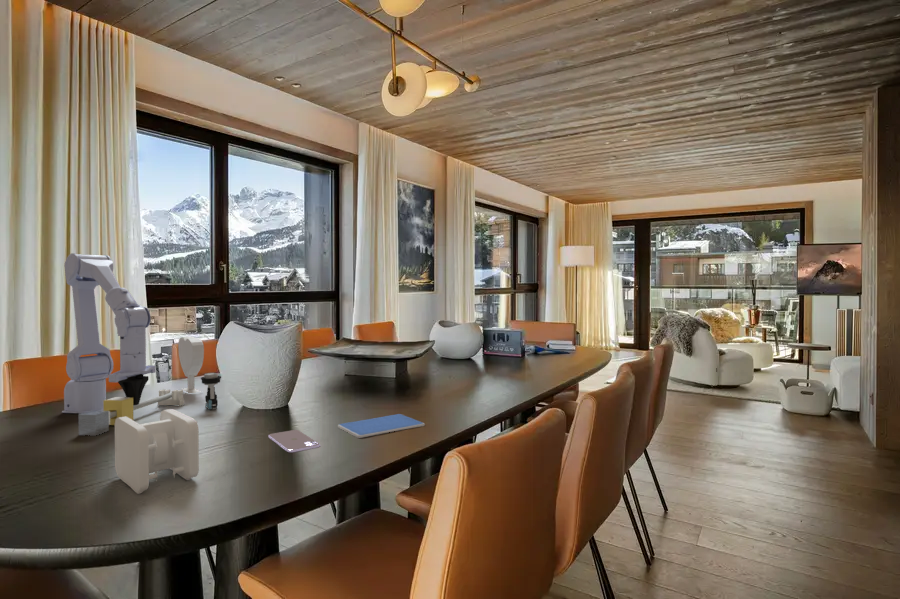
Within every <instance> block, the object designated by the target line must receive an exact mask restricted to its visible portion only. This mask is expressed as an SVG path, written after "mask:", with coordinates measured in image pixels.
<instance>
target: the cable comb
mask: <svg viewBox="0 0 900 599" xmlns="http://www.w3.org/2000/svg"><path fill="white" fill-rule="evenodd" d="M171 392H172V397H171V398H168V399H165V400H163V401H160V402H157V406H158V405H179V406H178V407H181V406H180V405H182V406H184V405H185V398H184V393H183V390H178V389H174V390H171V389H164V388H163V389H160V390H159V391H158V397H159V396H162V395H165V394H168V393H171ZM183 404H184V405H183Z"/></svg>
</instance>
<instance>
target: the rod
mask: <svg viewBox="0 0 900 599" xmlns="http://www.w3.org/2000/svg"><path fill="white" fill-rule="evenodd" d="M168 398H172V391H170V393H168V394H165V395H162V396H159V395H158V396H157V397H153V398H150V399H147V400H144V401H141V402H139V404H138V405H133V411H136V410H138V409H141V408H144V407H148V406H151V405H154V404H158V402H160V401H163V400H165V399H168ZM116 416H117V410H116V411H113V412H110V418H113V417H116Z"/></svg>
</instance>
